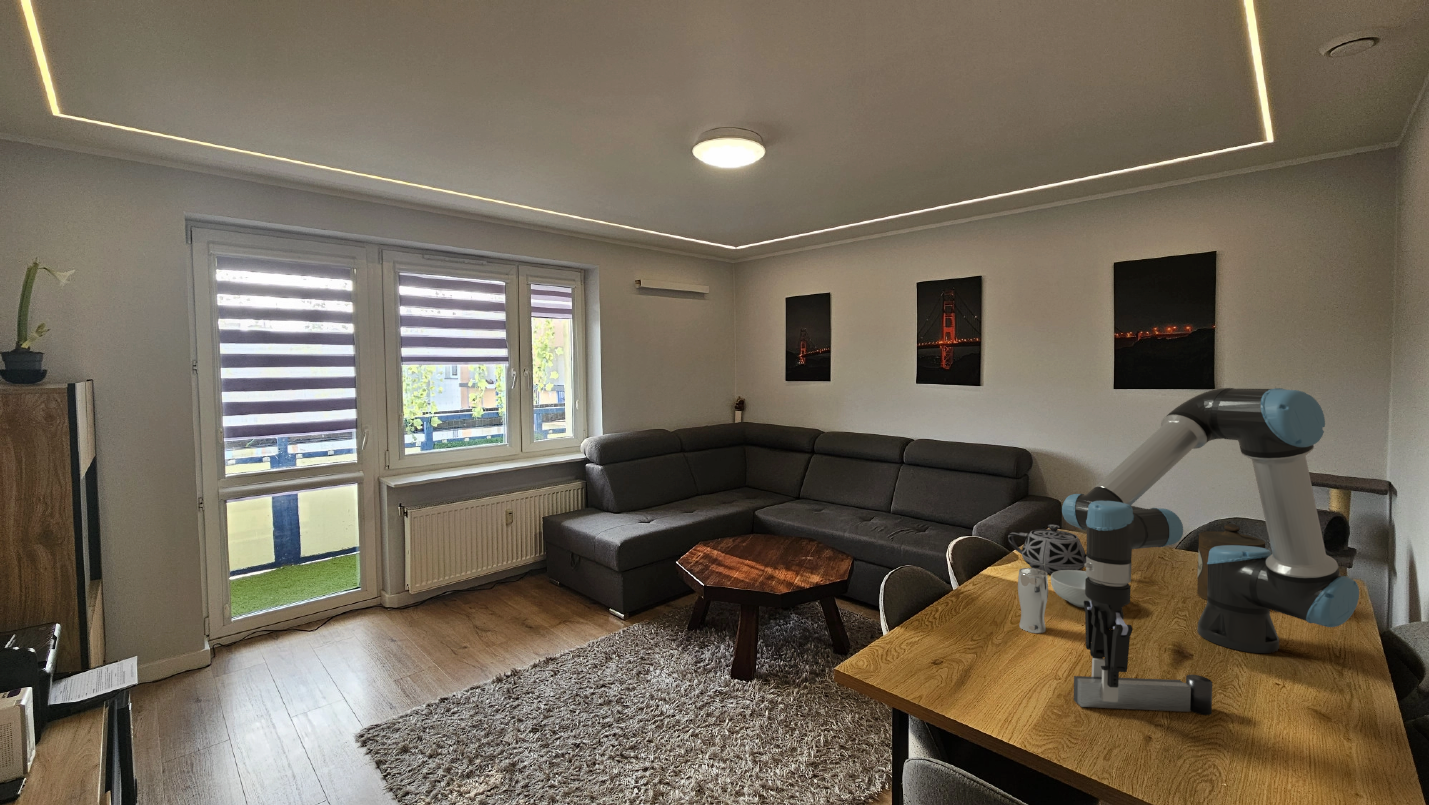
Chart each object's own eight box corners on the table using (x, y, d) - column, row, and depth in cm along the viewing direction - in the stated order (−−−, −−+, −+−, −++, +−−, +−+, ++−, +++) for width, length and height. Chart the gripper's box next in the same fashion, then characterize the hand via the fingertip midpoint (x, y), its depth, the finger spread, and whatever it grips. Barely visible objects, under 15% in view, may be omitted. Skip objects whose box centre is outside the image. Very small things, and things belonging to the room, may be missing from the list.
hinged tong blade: (1185, 707, 118) (1185, 682, 118) (1190, 711, 116) (1190, 686, 116) (1077, 702, 120) (1077, 678, 120) (1081, 706, 119) (1081, 682, 118)
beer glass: (1051, 635, 151) (1052, 577, 151) (1022, 633, 153) (1022, 575, 152) (1042, 624, 158) (1043, 568, 158) (1014, 622, 160) (1014, 567, 159)
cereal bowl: (1055, 610, 167) (1055, 585, 167) (1046, 590, 183) (1047, 567, 182) (1126, 618, 161) (1127, 593, 161) (1112, 597, 176) (1112, 573, 176)
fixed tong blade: (1202, 704, 119) (1202, 675, 119) (1216, 715, 116) (1217, 685, 115) (1072, 698, 122) (1073, 670, 122) (1082, 709, 118) (1083, 680, 118)
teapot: (1104, 588, 183) (1105, 540, 183) (999, 567, 205) (999, 524, 204) (1116, 572, 197) (1117, 527, 197) (1016, 554, 218) (1017, 513, 218)
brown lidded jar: (1218, 587, 182) (1220, 516, 181) (1277, 605, 168) (1279, 528, 167) (1184, 594, 178) (1186, 521, 177) (1242, 612, 164) (1244, 533, 163)
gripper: (1068, 566, 127) (1065, 674, 128) (1109, 594, 111) (1106, 717, 112) (1105, 567, 126) (1102, 676, 127) (1153, 596, 110) (1149, 719, 111)
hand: (1104, 695), depth 120 cm, fingers open, 3 cm apart
